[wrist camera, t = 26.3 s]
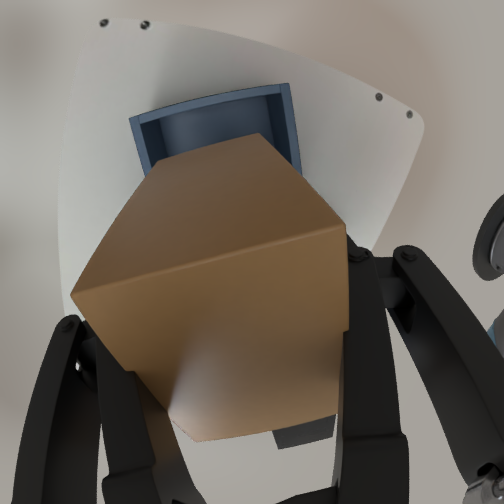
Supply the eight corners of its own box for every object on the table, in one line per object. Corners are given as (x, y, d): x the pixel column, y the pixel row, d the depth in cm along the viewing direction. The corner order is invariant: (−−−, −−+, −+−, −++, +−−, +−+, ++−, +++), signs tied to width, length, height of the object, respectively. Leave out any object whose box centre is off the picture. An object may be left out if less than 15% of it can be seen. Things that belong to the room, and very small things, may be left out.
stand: (296, 293, 48) (337, 408, 30) (300, 333, 54) (332, 436, 35) (249, 304, 48) (269, 424, 30) (258, 342, 54) (278, 449, 35)
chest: (150, 111, 31) (128, 118, 23) (270, 85, 32) (289, 82, 23) (183, 229, 40) (176, 269, 32) (288, 207, 40) (309, 241, 32)
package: (259, 132, 16) (347, 223, 5) (284, 250, 20) (345, 411, 10) (157, 160, 16) (67, 295, 5) (198, 272, 20) (194, 442, 10)
